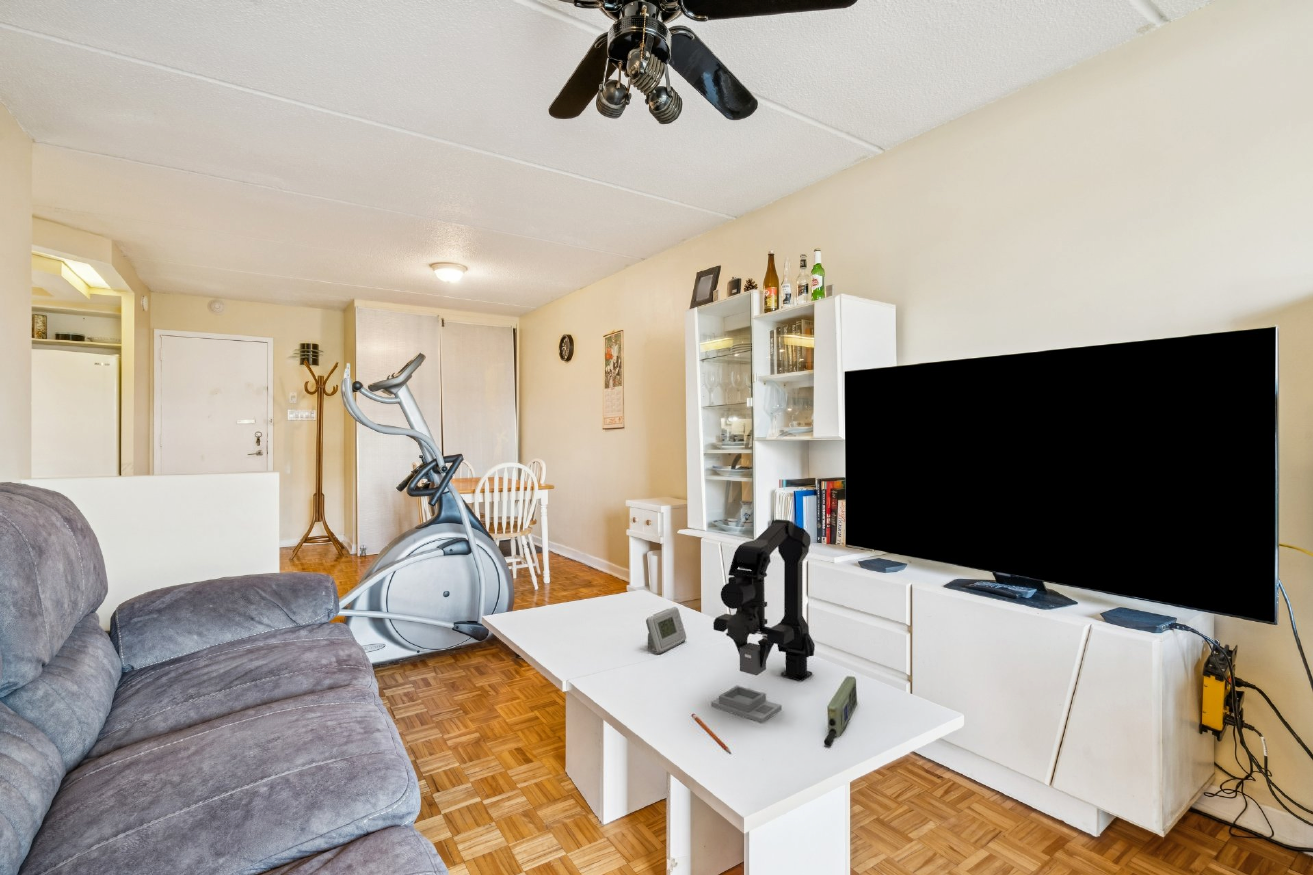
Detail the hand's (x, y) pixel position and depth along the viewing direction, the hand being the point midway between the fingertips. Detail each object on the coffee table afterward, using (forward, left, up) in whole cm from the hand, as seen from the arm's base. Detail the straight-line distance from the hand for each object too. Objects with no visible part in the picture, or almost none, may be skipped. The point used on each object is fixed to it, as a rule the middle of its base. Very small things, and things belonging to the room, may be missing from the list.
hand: (752, 664), depth 143 cm
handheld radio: (-7, +18, -11) cm, 23 cm away
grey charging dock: (0, -2, -11) cm, 11 cm away
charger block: (0, 0, -1) cm, 1 cm away
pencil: (+16, -1, -11) cm, 19 cm away
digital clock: (-22, -44, -11) cm, 50 cm away
